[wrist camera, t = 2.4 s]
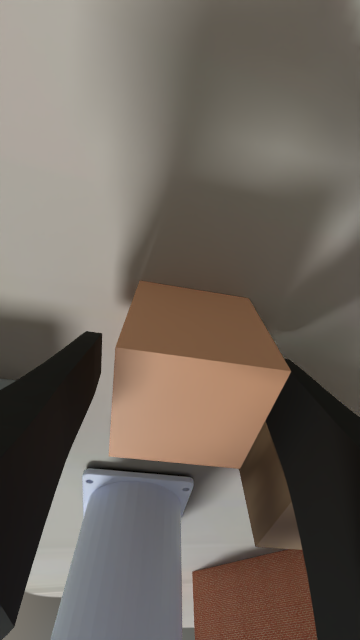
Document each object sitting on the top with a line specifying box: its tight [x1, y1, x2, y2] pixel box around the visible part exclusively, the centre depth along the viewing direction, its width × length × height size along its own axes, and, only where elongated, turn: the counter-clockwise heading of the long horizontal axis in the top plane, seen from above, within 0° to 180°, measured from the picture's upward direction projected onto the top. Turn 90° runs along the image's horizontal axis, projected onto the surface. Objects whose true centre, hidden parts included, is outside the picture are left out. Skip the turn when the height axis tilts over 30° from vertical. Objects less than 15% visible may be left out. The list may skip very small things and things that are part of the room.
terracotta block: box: [109, 281, 291, 469], centre depth 10 cm, size 5×5×5 cm
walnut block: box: [239, 421, 302, 550], centre depth 15 cm, size 5×5×5 cm
